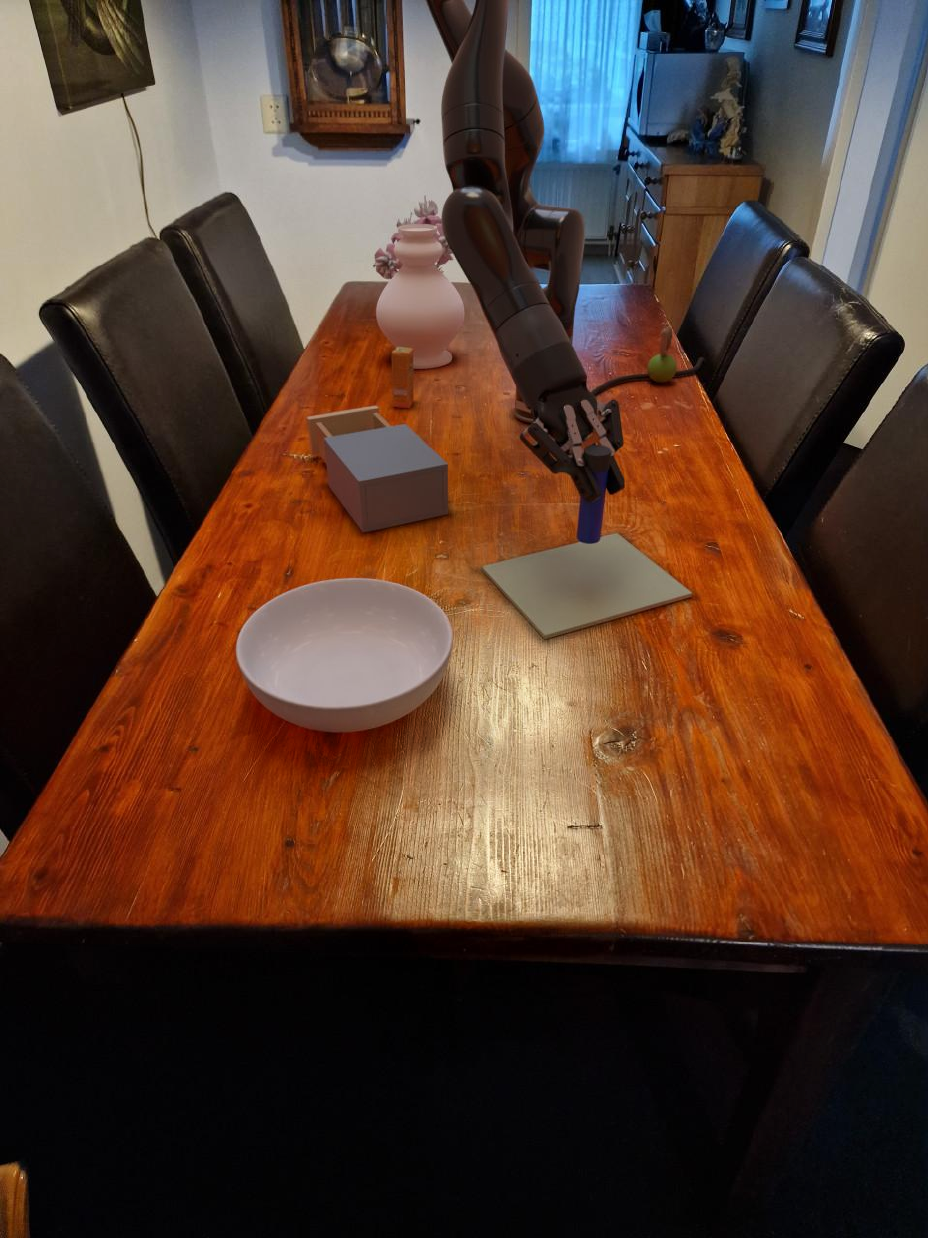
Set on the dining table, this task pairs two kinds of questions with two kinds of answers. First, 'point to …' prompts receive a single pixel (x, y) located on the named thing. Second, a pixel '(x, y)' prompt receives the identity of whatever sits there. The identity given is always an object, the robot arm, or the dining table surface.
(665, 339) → the green ball with stem
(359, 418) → the drawer
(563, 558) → the mat
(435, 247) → the decorative vase
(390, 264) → the flower
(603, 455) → the flashlight
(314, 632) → the serving bowl
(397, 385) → the supplement box
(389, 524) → the cabinet
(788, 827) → the dining table surface
